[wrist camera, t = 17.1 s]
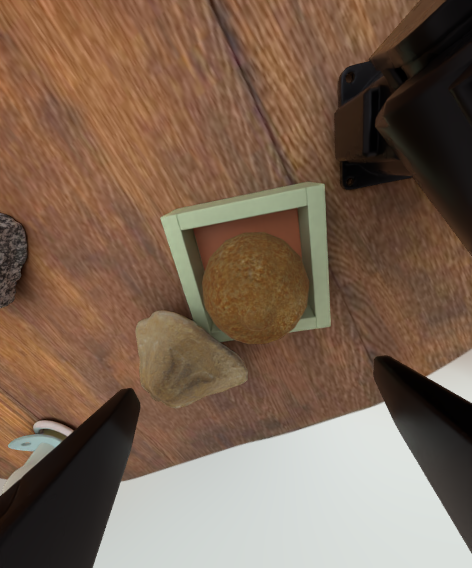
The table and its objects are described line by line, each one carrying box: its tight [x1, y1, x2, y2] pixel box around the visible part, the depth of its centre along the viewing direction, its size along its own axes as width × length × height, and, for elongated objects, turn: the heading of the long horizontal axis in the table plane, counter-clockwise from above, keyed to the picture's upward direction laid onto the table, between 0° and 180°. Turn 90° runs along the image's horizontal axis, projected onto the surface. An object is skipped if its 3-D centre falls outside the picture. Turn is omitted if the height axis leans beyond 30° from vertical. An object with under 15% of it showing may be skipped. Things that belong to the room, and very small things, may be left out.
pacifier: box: [2, 420, 74, 494], centre depth 26 cm, size 7×6×6 cm
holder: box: [161, 182, 331, 342], centre depth 17 cm, size 10×10×4 cm
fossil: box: [136, 310, 248, 408], centre depth 18 cm, size 9×4×10 cm
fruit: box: [202, 232, 309, 344], centre depth 14 cm, size 6×6×8 cm
